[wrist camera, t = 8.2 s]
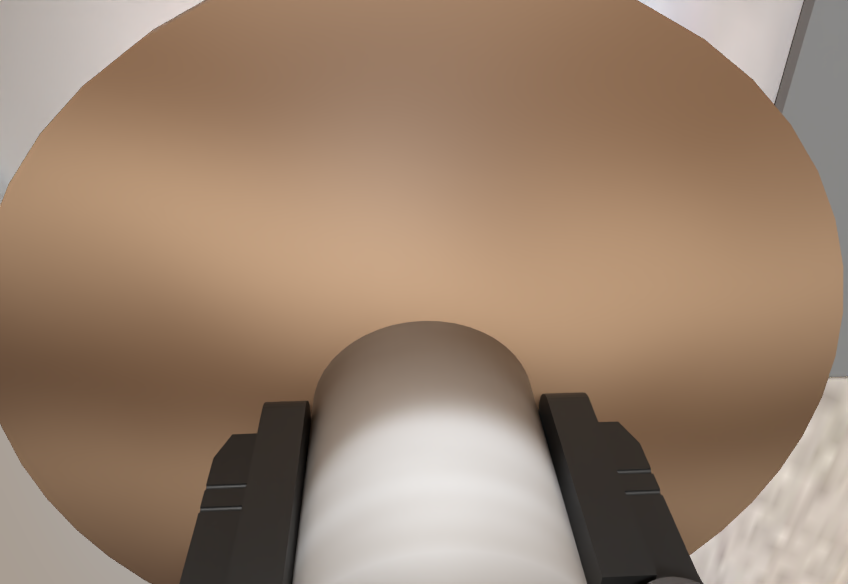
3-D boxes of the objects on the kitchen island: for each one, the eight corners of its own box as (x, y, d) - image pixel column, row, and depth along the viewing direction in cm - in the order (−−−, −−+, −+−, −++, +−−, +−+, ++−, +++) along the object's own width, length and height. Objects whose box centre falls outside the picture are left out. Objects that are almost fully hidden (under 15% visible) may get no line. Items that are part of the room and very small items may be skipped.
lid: (-161, -51, 9) (-705, 48, 4) (961, -51, 10) (1466, 34, 5) (115, 627, 17) (20, 905, 12) (712, 599, 18) (824, 850, 13)
